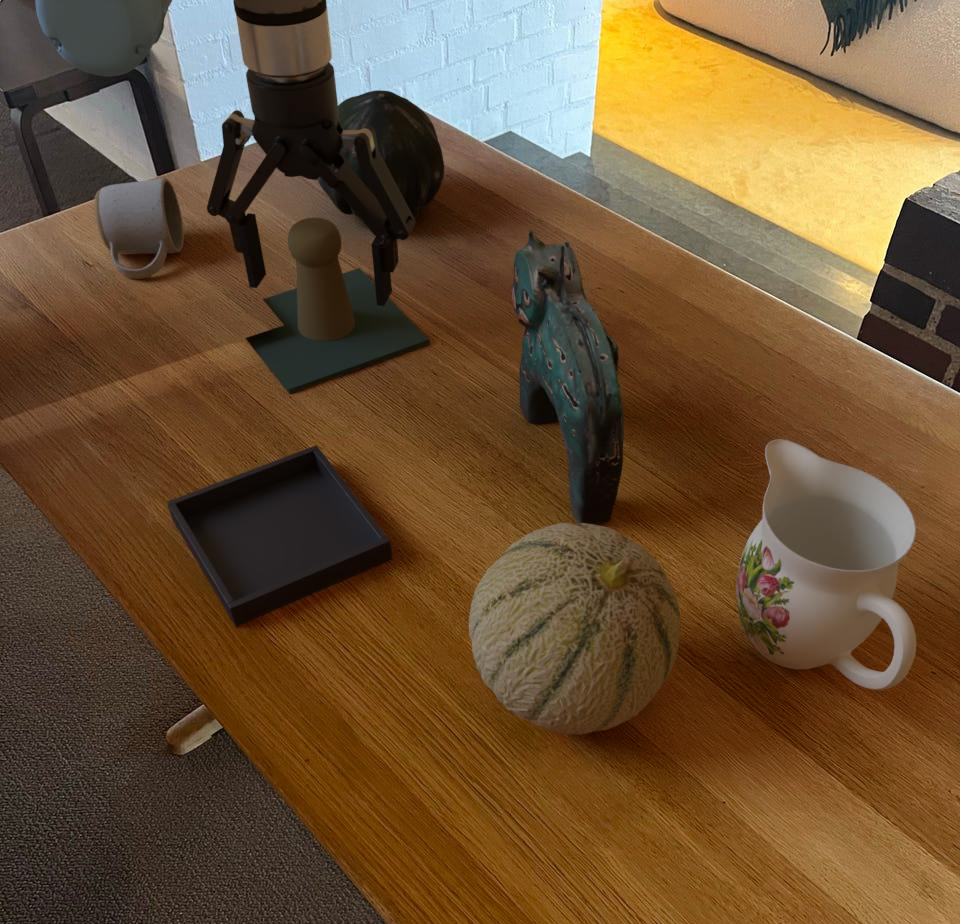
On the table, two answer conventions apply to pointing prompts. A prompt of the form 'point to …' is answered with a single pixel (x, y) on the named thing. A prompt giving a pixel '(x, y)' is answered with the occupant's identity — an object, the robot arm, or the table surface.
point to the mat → (320, 361)
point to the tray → (278, 534)
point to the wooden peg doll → (320, 281)
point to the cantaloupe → (575, 628)
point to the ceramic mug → (140, 222)
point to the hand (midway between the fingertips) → (320, 289)
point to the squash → (394, 146)
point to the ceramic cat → (570, 373)
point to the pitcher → (825, 567)
